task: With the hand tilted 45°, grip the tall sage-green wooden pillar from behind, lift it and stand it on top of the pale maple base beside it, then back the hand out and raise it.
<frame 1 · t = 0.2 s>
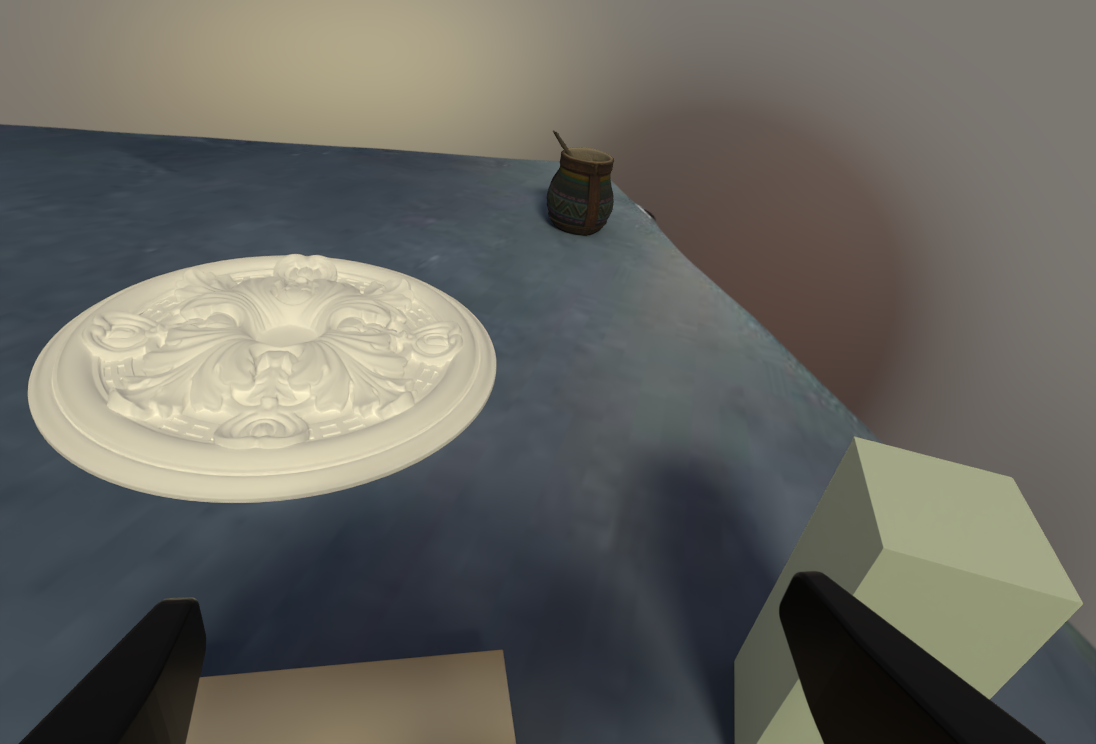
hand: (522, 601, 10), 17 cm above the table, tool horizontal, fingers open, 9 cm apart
mate gourd: (574, 229, 70), on the table
sage pillar: (795, 733, 26), on the table
ceiling medallion: (289, 359, 43), on the table
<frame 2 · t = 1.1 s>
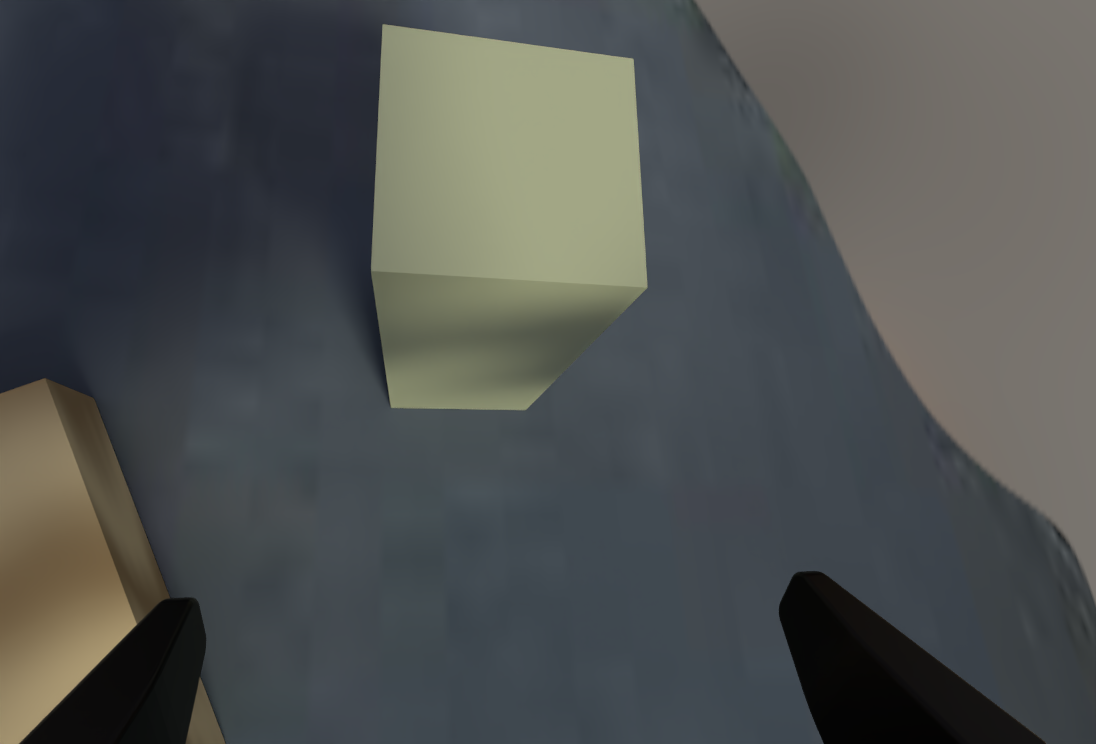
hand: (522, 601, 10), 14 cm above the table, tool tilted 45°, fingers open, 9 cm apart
sage pillar: (460, 344, 24), on the table
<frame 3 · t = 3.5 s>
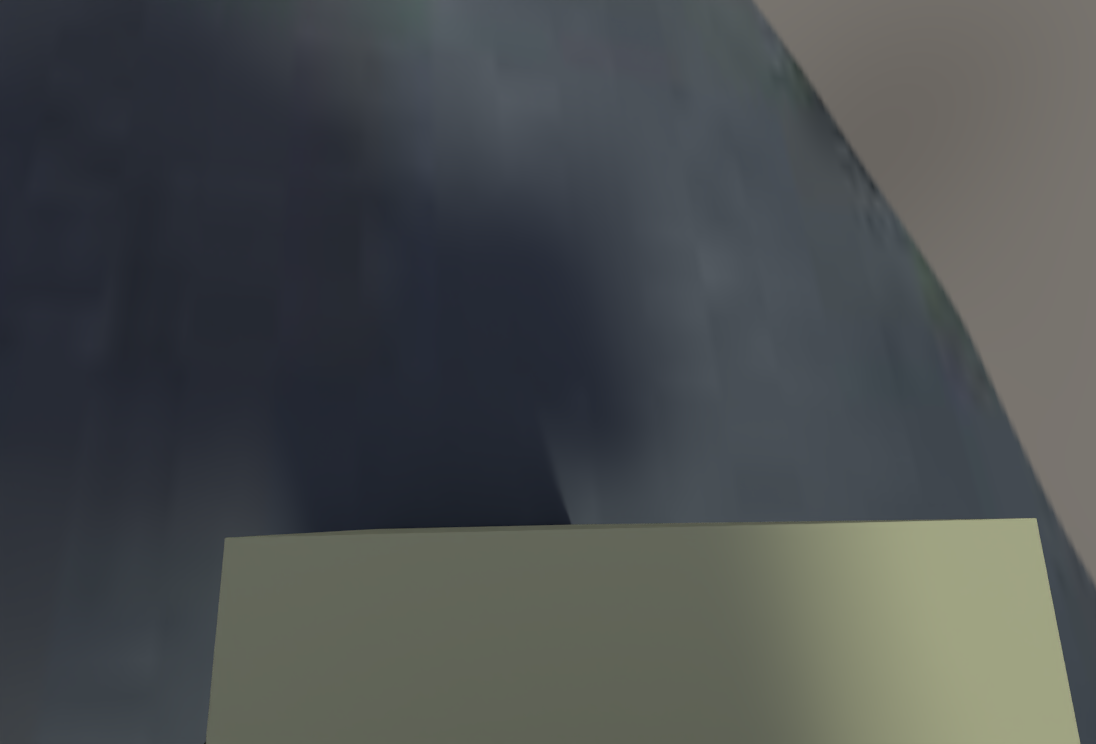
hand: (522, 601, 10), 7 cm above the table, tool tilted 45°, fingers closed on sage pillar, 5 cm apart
sage pillar: (476, 631, 16), on the table, touching gripper
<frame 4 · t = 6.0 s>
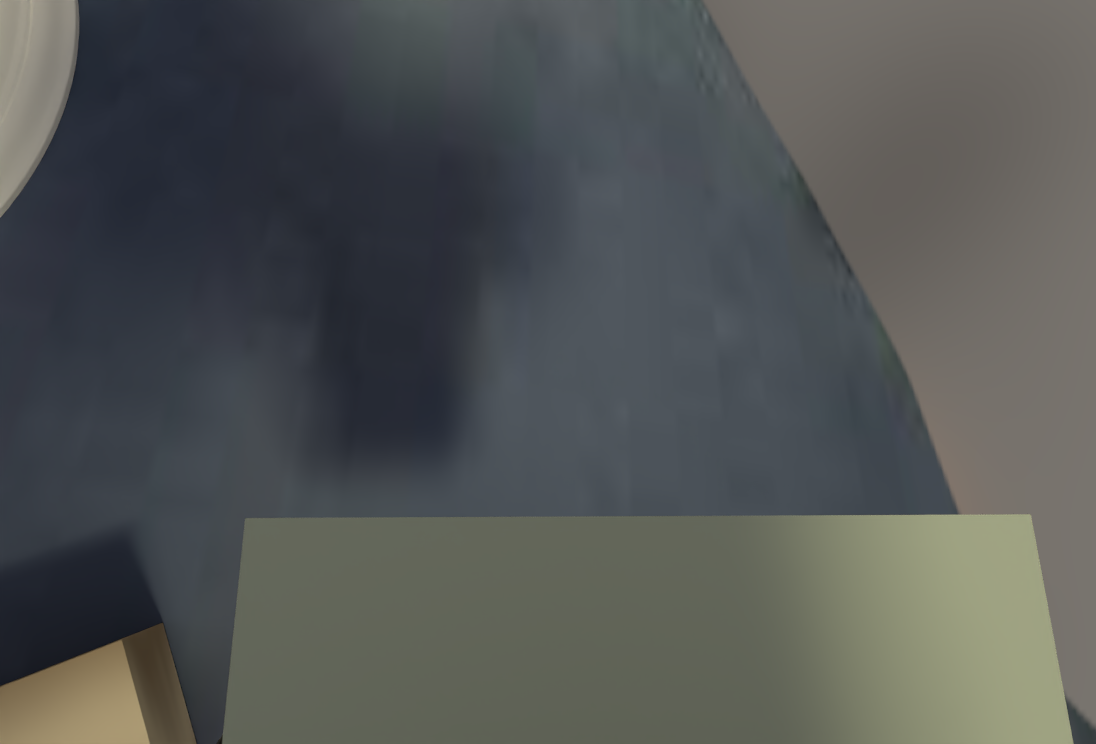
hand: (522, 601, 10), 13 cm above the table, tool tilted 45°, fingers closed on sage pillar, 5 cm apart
sage pillar: (481, 630, 16), point 7 cm above the table, touching gripper
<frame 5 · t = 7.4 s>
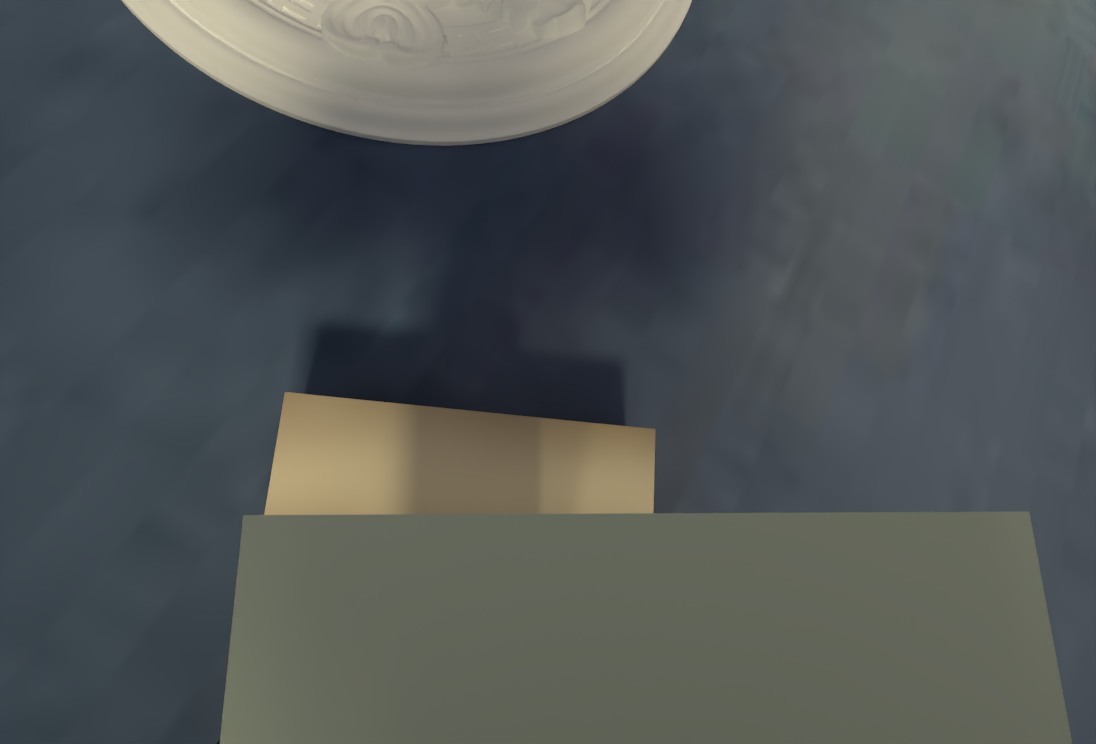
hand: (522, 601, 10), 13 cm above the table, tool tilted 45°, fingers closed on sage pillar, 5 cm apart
maple base: (455, 596, 22), on the table
sage pillar: (480, 629, 16), point 7 cm above the table, touching gripper
when the fingers open (11 cm above the table, at t = 8.2 s): sage pillar drops 1 cm, resting on maple base.
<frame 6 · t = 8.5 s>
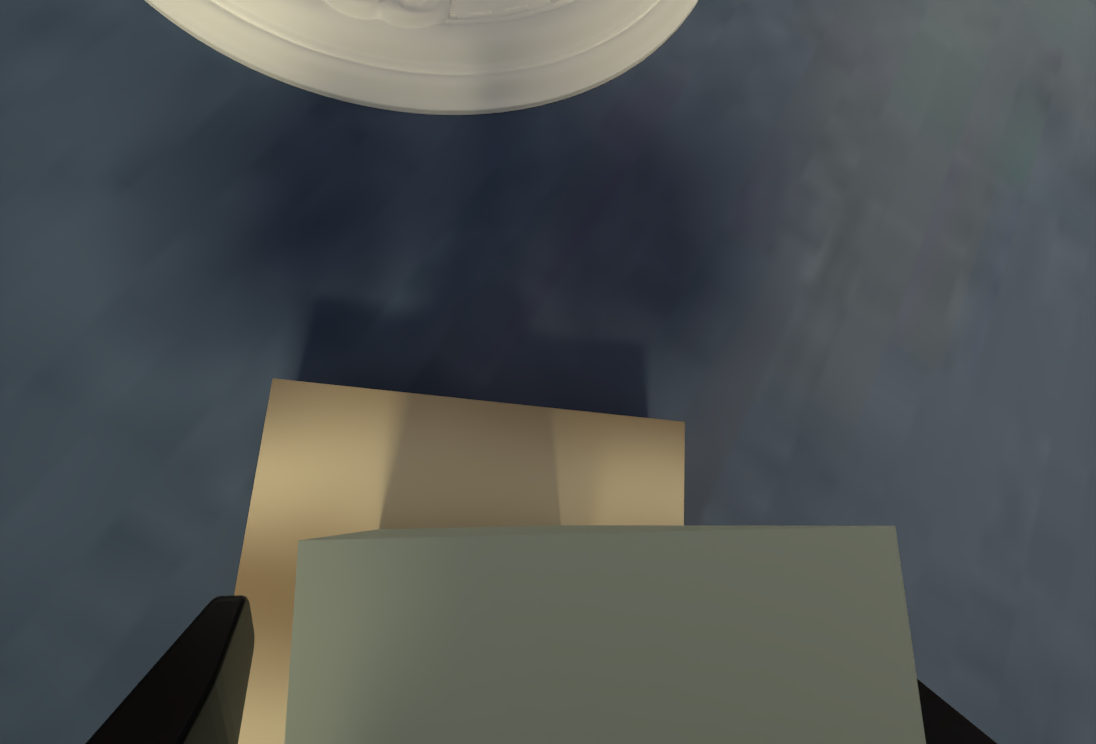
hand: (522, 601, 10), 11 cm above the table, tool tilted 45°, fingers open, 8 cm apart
maple base: (462, 607, 20), on the table
sage pillar: (471, 623, 17), point 3 cm above the table, touching maple base
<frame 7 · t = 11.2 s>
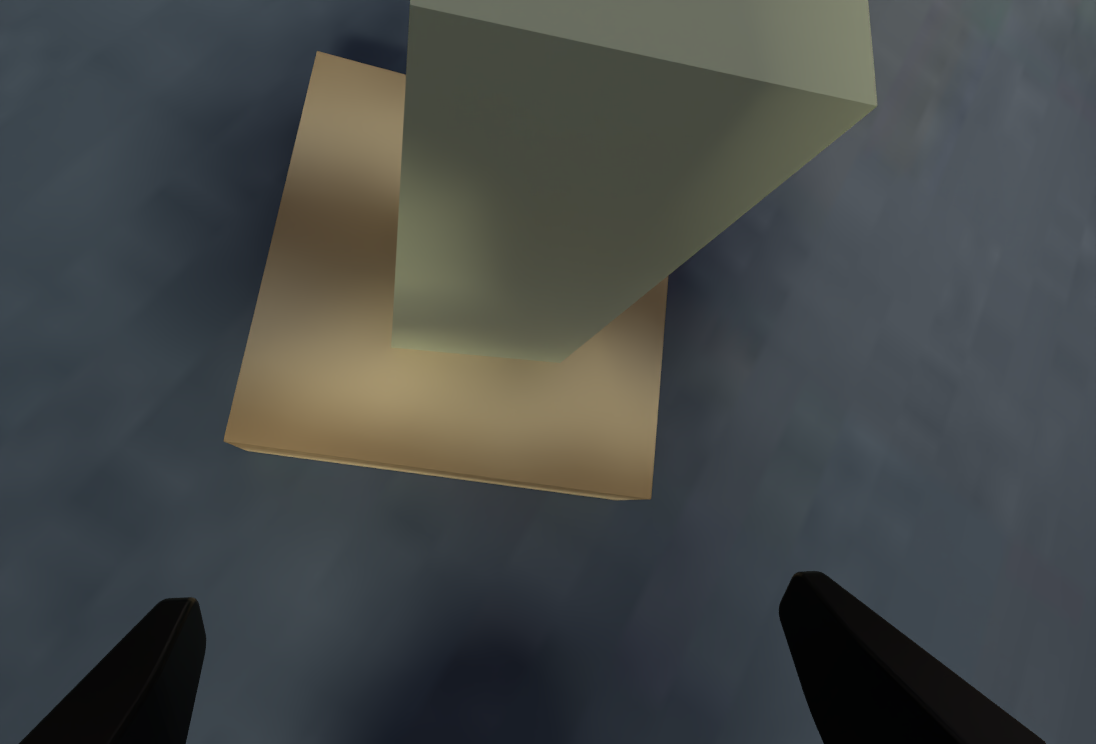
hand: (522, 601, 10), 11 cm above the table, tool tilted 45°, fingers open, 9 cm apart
maple base: (469, 303, 22), on the table
sage pillar: (483, 275, 19), point 3 cm above the table, touching maple base
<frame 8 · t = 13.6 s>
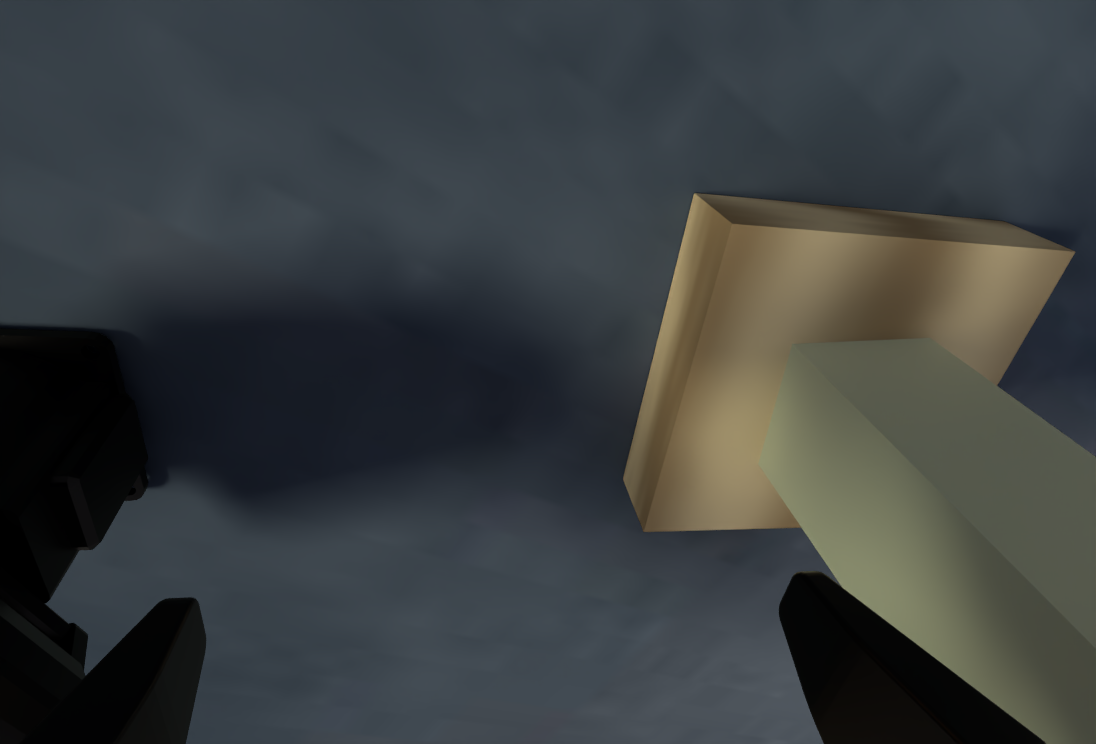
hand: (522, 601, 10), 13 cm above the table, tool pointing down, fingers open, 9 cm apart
maple base: (799, 359, 25), on the table
sage pillar: (840, 403, 22), point 3 cm above the table, touching maple base
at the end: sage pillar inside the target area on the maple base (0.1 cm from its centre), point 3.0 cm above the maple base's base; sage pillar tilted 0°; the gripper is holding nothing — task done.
